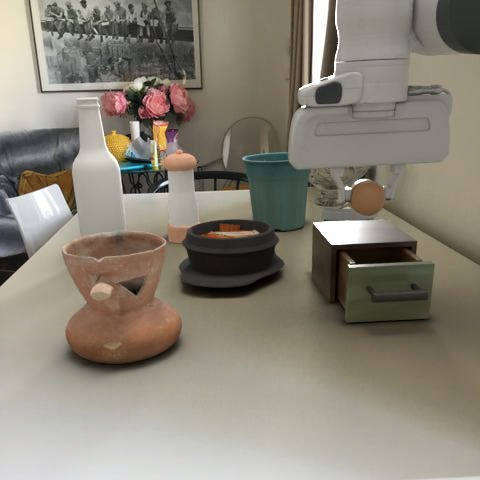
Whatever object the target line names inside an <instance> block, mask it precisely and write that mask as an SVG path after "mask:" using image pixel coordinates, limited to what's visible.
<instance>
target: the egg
mask: <svg viewBox="0 0 480 480" xmlns="http://www.w3.org/2000/svg"><path fill="white" fill-rule="evenodd" d="M349 187H350V188H351V189H352V195H351V202H348V206H351V207H352V209H354V210H355V211H356V212H357V213H359V214H361V215H364V216H371V215H374V214H376V213H378V214H379V213H380V211H382V210H383V208H384V206H385V204H386V201H387V200H386V196H385V192H384V189H383V188H382V187H381V185H380V184H379V183H378V182H377V181H374V180H372V179H369V178H360V179H357V180H356V181H354V182H353V183H351V185H350V186H349Z"/></svg>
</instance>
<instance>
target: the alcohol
mask: <svg viewBox="0 0 480 480" xmlns="http://www.w3.org/2000/svg"><path fill="white" fill-rule="evenodd" d="M75 101H76V104H77V105H76V109H77V113H78V114H77V117H78V134H79V135H78V136H79V151H78V154H76V157H75V158H74V160H73V163H72V167H71V176H72V184H73V190H74V197H75V204H76V212H77V213H76V214H77V220H78V227H79V234H80V237H83V236H87V235H93V234H97V233H102V232H106V233H107V232H115V231H128V230H127V229H128V228H127V220H126V219H127V217H126V210H125V201H124V191H123V182H122V174H121V173H122V172H121V167H120V165H119V161H118V159H117V158H116V157H115V156H114V155H113V154H112V153H111V152H110V150H109V148H108V146H107V142H106V137H105V131H104V127H103V121H102V117H101V111H100V107H101V105H100V103H99V101H100V98H99V97H98V96H86V97H85V96H84V97H76V99H75Z"/></svg>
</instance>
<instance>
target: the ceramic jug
mask: <svg viewBox="0 0 480 480" xmlns="http://www.w3.org/2000/svg"><path fill="white" fill-rule="evenodd" d="M166 253H167V240H166V239H165V238H164V237H163V236H161V235H158V234H157V233H156V234H155V233H151V232H148V231H141V230H137V231H136V230H127V231H115V232H107V233H106V232H102V233H97V234H93V235H87V236H83V237H81V236H80V237H78V238H75V239H71V240H69V241H68V242H66V243H65V244H64V245H63V246H61V254H62V258H63V261H64V265H65V267H66V269H67V271H68V273H69V276H70V278H71V279H72V281H73V283H74V285H75V286H76V288H77V290H78V291H79V292H80V295H81V297H83V298H84V300H85V302H86V303H85V304H84V305H83V306H82V307H81V308H80V309H78V310H77V311H75V313H74V314H73V315H72V316H71V317H70V318H69V320H68V321H67V324H66V327H65V334H64V336H65V340H66V342H67V344H68V345H69V347H70V348H71V350H72V351H73V352H74V353H75V354H76V355H77V356H79V357H81V358H83V359H84V360H88V361H90V362H95V363H101V364H106V365H107V364H108V365H123V364H131V363H135V362H141V361H145V360H147V359H150V358H153V357H156V356H157V355H159V354H162V353H164V352H165V351H166V350H168V349H169V348H171V347H172V346H173V345H174V344H175V343H176V342H177V340H178V339H179V337H180V335H181V332H182V326H183V322H182V318H181V315H180V313H179V312H178V311H177V309H175V308H174V306H172V305H171V304H169V303H167V302H166V301H164V300H162V299H160V298H158V297H156V296H155V294H156V292H157V288H158V287H159V283H160V280H161V277H162V272H163V268H164V265H165V260H166Z"/></svg>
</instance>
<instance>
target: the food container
mask: <svg viewBox="0 0 480 480" xmlns="http://www.w3.org/2000/svg"><path fill="white" fill-rule="evenodd" d="M322 209H323V210H322V211H321V217H320V219H321V220H323V222H339V221H361V220H375V218H376V217H378V214H379V212H378V213H376V214H374V215H371V216H364V215H361V214H359V213H357V212H356V211H355V210H354V209H352V207H351V206H350V205H344V206H340V207H338V208H332V207H325V206H323V208H322Z"/></svg>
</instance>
